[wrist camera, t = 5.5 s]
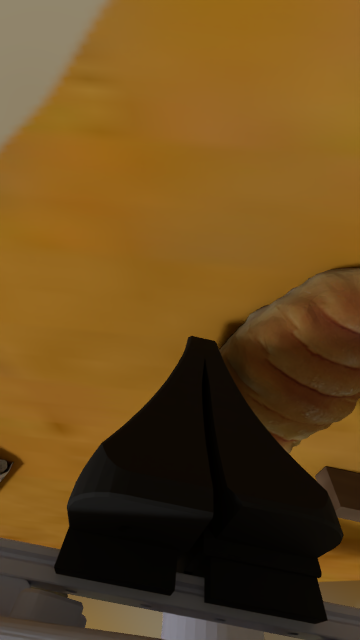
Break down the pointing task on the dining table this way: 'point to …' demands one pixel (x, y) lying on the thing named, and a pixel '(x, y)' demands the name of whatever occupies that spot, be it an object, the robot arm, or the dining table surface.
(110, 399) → the dining table surface
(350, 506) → the grey u-shaped frame
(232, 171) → the dining table surface
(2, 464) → the newspaper
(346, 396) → the pastry
